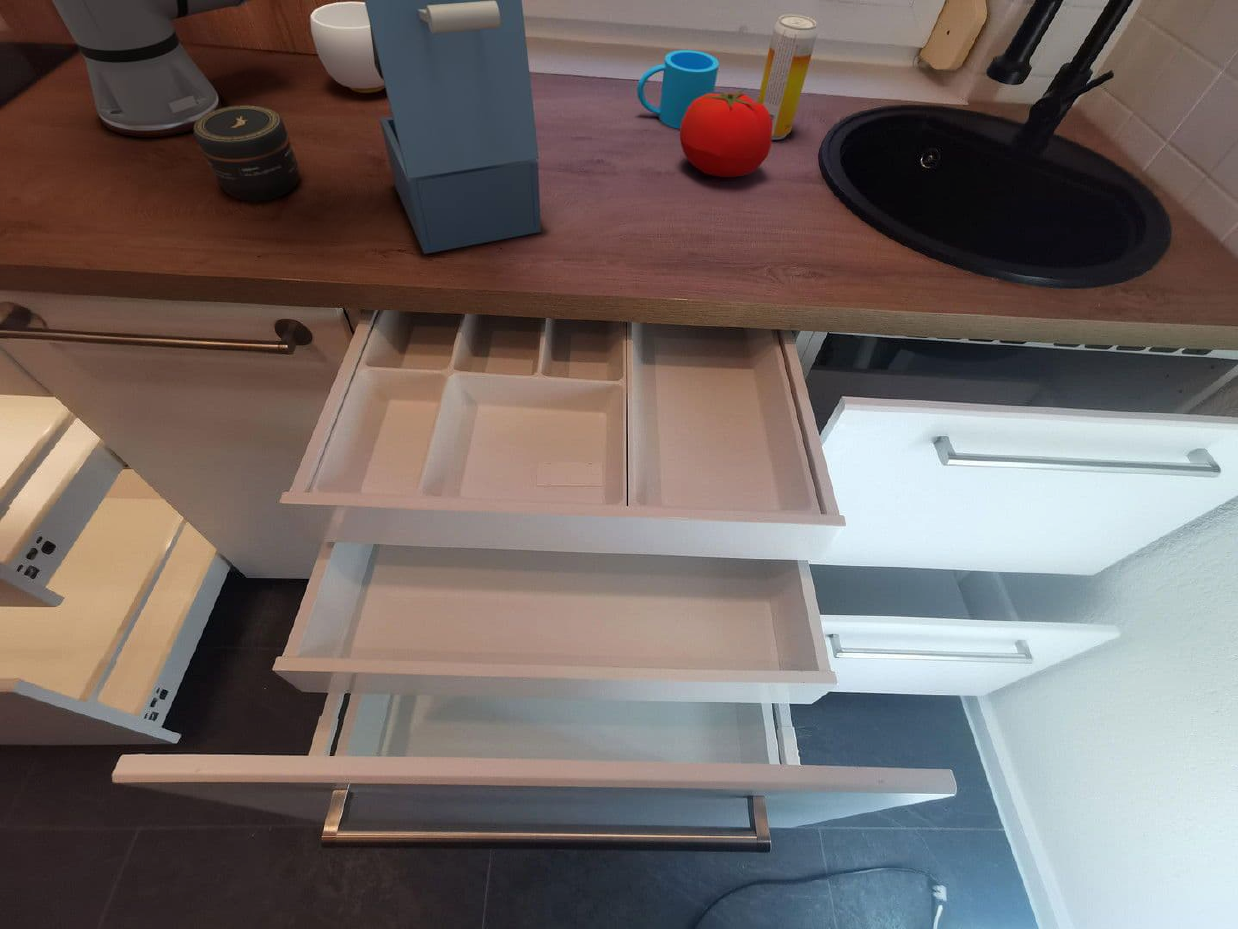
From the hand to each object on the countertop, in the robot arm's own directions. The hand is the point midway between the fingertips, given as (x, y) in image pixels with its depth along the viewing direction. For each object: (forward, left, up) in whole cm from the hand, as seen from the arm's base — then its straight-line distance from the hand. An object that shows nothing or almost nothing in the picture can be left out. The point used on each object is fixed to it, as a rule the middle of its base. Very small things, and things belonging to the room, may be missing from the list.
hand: (456, 137), depth 72 cm
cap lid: (+6, 0, +8) cm, 10 cm away
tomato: (+1, +37, -9) cm, 38 cm away
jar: (-14, -23, -9) cm, 28 cm away
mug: (-16, +38, -9) cm, 42 cm away
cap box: (0, 0, -9) cm, 9 cm away
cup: (-40, -5, -9) cm, 41 cm away
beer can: (-7, +51, -9) cm, 52 cm away
